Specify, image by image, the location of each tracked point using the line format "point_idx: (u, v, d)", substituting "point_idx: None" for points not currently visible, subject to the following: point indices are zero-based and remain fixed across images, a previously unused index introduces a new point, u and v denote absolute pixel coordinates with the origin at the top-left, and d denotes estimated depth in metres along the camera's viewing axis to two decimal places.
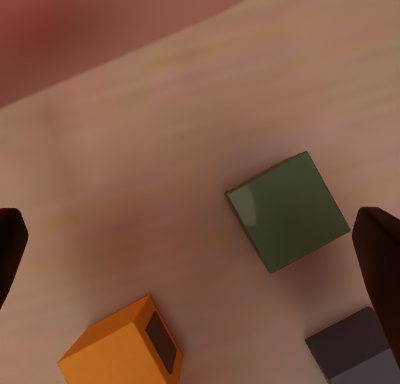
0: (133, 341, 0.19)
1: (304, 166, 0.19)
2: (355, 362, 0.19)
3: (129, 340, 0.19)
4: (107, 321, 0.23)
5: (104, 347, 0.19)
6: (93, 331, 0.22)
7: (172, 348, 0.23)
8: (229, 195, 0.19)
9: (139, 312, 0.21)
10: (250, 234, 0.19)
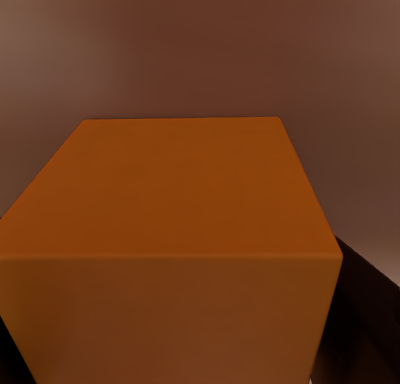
0: (294, 305, 0.05)
1: None
2: None
3: (284, 298, 0.05)
4: (157, 141, 0.07)
5: (183, 285, 0.05)
6: (113, 157, 0.07)
7: None
8: None
9: (314, 193, 0.06)
10: None
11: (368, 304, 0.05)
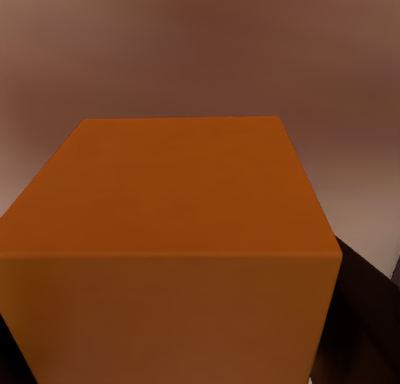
0: (294, 303, 0.05)
1: None
2: None
3: (283, 296, 0.05)
4: (157, 140, 0.07)
5: (184, 283, 0.05)
6: (113, 156, 0.07)
7: None
8: None
9: (314, 192, 0.06)
10: None
11: (368, 304, 0.05)
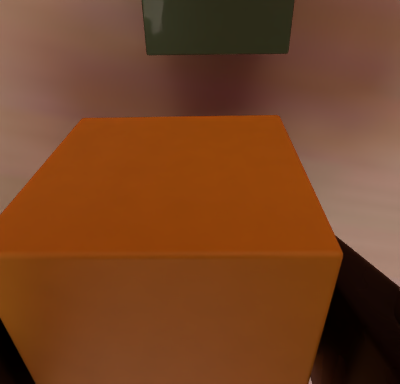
0: (294, 304, 0.05)
1: None
2: None
3: (283, 297, 0.05)
4: (156, 140, 0.07)
5: (182, 283, 0.05)
6: (112, 155, 0.07)
7: None
8: None
9: (314, 192, 0.06)
10: None
11: (368, 304, 0.05)
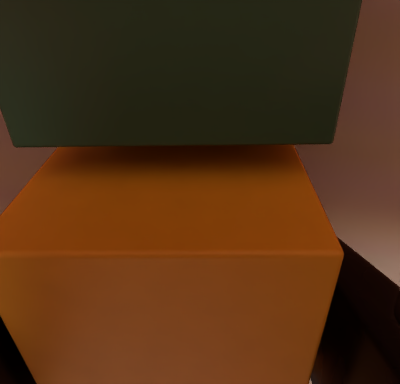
0: (295, 303, 0.05)
1: None
2: None
3: (284, 296, 0.05)
4: None
5: (184, 282, 0.05)
6: (112, 155, 0.07)
7: None
8: None
9: (314, 191, 0.06)
10: None
11: (368, 304, 0.05)
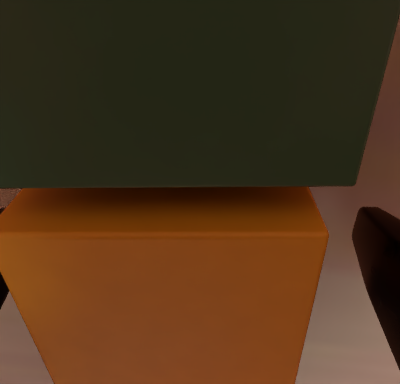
0: (285, 282, 0.05)
1: None
2: None
3: (275, 275, 0.05)
4: None
5: (181, 262, 0.05)
6: None
7: None
8: None
9: None
10: None
11: None
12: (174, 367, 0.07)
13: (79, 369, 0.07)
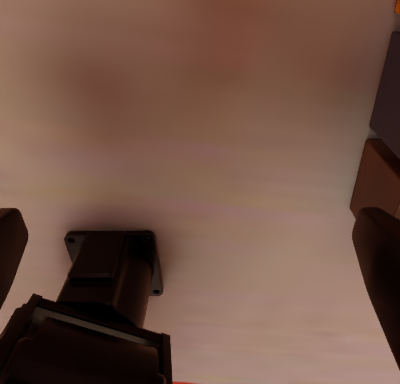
0: None
1: None
2: None
3: None
4: None
5: None
6: None
7: None
8: None
9: None
10: None
11: None
12: None
13: None
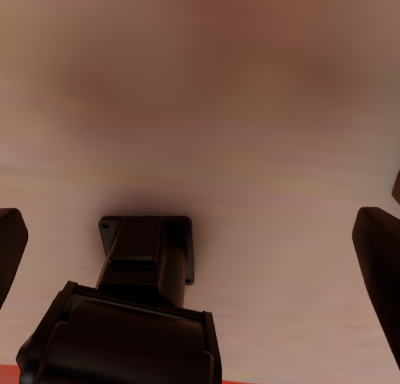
0: None
1: None
2: None
3: None
4: None
5: None
6: None
7: None
8: None
9: None
10: None
11: None
12: None
13: None
